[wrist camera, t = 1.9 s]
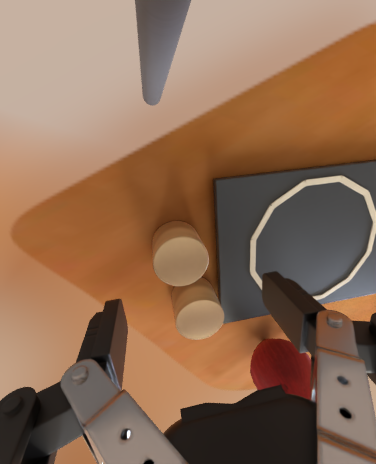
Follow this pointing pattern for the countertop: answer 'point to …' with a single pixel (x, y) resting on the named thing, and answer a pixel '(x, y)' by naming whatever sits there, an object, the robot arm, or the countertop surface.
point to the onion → (281, 367)
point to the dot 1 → (178, 254)
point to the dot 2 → (197, 310)
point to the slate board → (296, 234)
